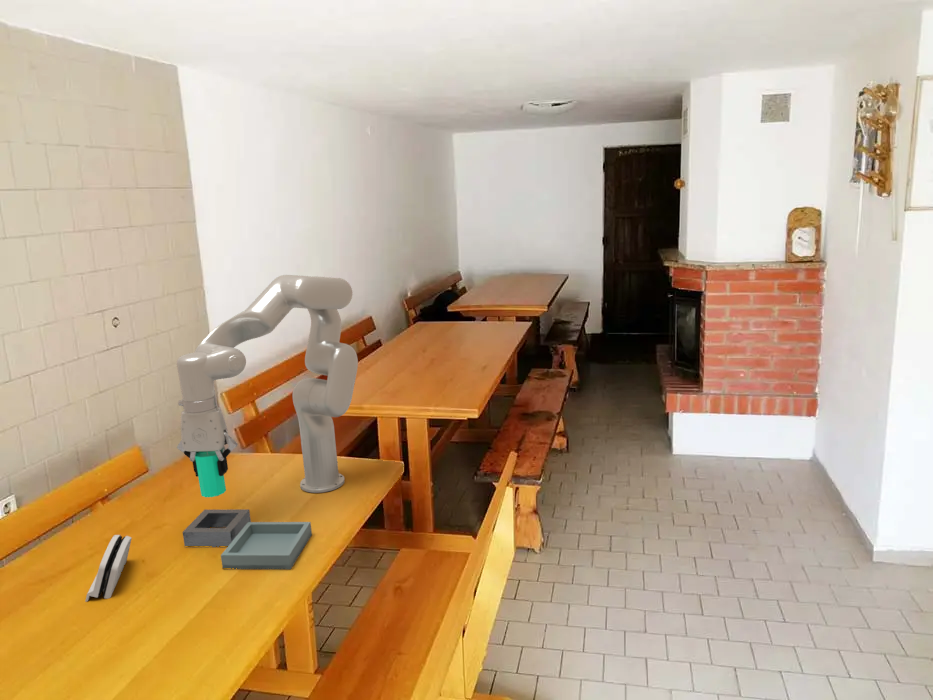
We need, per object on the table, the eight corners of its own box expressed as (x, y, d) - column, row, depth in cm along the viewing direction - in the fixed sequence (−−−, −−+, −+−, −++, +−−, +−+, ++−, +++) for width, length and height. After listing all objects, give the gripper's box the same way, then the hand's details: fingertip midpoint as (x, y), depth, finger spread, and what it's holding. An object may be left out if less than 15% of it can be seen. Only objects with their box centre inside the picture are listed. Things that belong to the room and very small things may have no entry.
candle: (206, 499, 173) (198, 453, 170) (197, 492, 177) (189, 447, 174) (230, 491, 177) (223, 446, 174) (220, 484, 181) (213, 440, 178)
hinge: (104, 563, 168) (112, 524, 167) (125, 566, 170) (134, 528, 168) (84, 602, 152) (94, 560, 151) (108, 605, 154) (118, 563, 152)
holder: (206, 523, 186) (204, 509, 185) (251, 523, 184) (249, 509, 183) (184, 547, 174) (182, 532, 173) (232, 547, 173) (230, 532, 172)
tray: (249, 534, 178) (247, 522, 178) (311, 534, 177) (310, 521, 176) (222, 569, 163) (220, 555, 162) (290, 569, 161) (289, 555, 161)
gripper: (158, 410, 168) (171, 481, 173) (228, 408, 167) (239, 480, 171) (174, 400, 176) (185, 468, 180) (240, 398, 174) (251, 467, 178)
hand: (211, 473), depth 176 cm, fingers closed on candle, 5 cm apart
